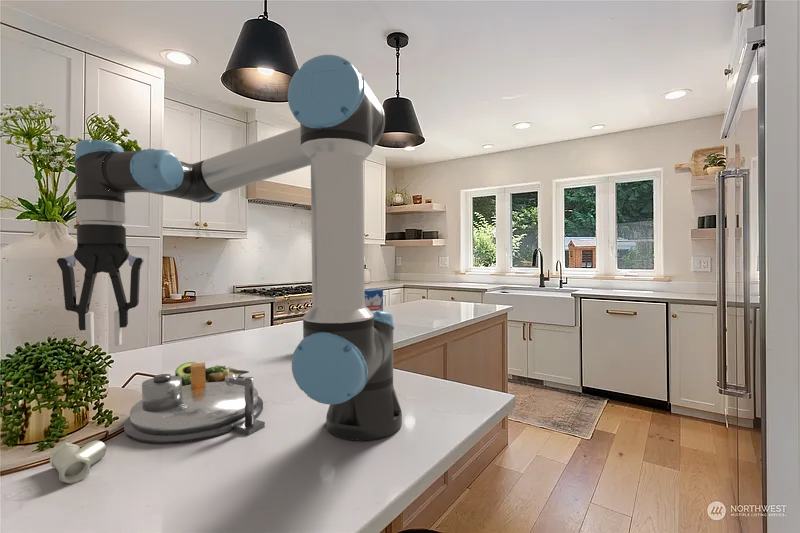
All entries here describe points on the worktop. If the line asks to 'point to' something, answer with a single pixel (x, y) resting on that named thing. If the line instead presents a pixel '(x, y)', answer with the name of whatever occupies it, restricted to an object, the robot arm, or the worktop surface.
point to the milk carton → (374, 299)
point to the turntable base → (185, 437)
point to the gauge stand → (246, 405)
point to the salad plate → (207, 373)
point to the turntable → (195, 407)
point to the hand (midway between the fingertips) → (104, 345)
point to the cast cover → (161, 393)
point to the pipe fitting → (76, 460)
